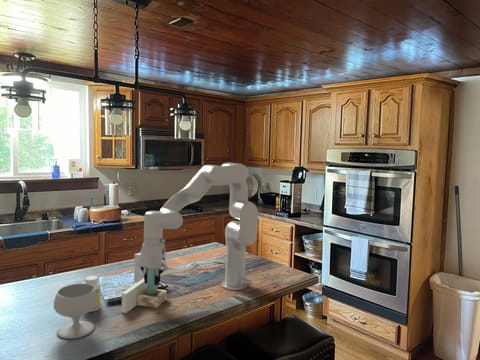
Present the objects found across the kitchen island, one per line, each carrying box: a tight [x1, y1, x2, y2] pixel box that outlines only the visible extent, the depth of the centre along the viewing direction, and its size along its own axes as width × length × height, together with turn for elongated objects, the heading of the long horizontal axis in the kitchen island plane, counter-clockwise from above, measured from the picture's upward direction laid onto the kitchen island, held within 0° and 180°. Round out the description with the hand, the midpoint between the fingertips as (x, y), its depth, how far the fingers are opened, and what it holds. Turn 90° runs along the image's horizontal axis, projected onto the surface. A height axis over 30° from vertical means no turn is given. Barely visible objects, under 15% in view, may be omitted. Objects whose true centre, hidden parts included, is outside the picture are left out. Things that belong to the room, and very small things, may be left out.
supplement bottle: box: [84, 275, 101, 313], centre depth 142 cm, size 7×7×13 cm
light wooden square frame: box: [136, 288, 168, 309], centre depth 149 cm, size 9×9×4 cm
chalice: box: [53, 283, 98, 340], centre depth 125 cm, size 14×14×15 cm
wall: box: [121, 278, 147, 314], centre depth 150 cm, size 2×22×8 cm, turn 166°
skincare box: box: [133, 251, 144, 283], centre depth 170 cm, size 8×6×15 cm
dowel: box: [147, 267, 158, 295], centre depth 149 cm, size 4×4×12 cm
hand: (152, 282), depth 149 cm, fingers closed on dowel, 4 cm apart
